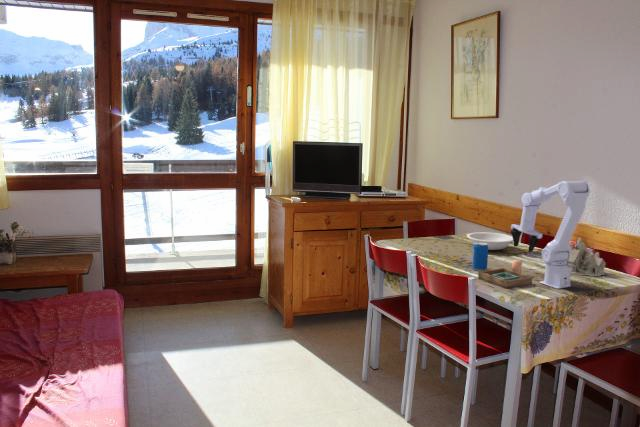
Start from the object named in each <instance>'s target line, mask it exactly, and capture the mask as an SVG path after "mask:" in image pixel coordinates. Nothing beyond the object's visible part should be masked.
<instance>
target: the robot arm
mask: <svg viewBox="0 0 640 427" xmlns="http://www.w3.org/2000/svg"><path fill="white" fill-rule="evenodd" d="M590 193H591V189H590V187H589V184H588V182H587V181H585V180H573V181H572V180H571V181H570V180H568V181H567V180H563V181H559V182H558V183H556V184H555V185H552V186H550V187H545V186H540V187H539V189H536V190H534V189H532V191H531V192H524V193H523V194H522V196H521V204H522V205H523V206H522V212H521V218H520V224H515V223H514V224H511V225H510V229H511V230H510V234H511V236H512V237H513V241H512V242H513V246H514V247H518V246H519V244H520V238H521V235H522V234H523V233H524V234H525V235H526V234H527V235H528V240H529V243H528V244H529V246H528V252H529V253H532V252H533V251H534V250H535V247H536V245H537V244H538V242H539V241H541V239H542V238H543V233H541V232H539V231H538V230H535V229H534V228H535V225H536V218H537V214H538V213H537V212H538V210H539V209H540V208H539V207H540V206H541V205H542V203H544V202H549V201H550V200H551V199H552V198H553V197H554V196H556V195H559V196H560V198H561V199H562V201H563V203H564V205H566V206H567V209H566V212H565V214H564V215H563V216H564V217H563V218H562V221H561V223H560V225H559V228H558V230H557V232H556V235H555V236H554V239H553V240H551V241H550V242H548V243H547V244H546V246H545V247H544V248H542V250H541V258H542V261H543V263H545V267H544V279H543V280H540V281H539V284H542V285H545V286H548V287H551V288H555V289H558V290H559V289H564V288H569V287H572V285H571V279H572V278H571V276H572V274H571V270H570V268H569V267H567V266H566V265H565V264H566V262H567V261H568V260H569V258H570V252H571V250H572V248H571V247H570V245H569V243H570V241H571V239H572V237H573V235H574V233H575V230H576V228H577V226H578V224H579V222H580V219H581V218H582V215H583V213H584V211H585V210H586V209H585V208H586V203H587V199H588V197H589V195H590ZM552 196H553V197H552Z"/></svg>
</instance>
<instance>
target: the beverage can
mask: <svg viewBox="0 0 640 427" xmlns="http://www.w3.org/2000/svg"><path fill="white" fill-rule="evenodd" d="M472 245H473V246H472V262H471V266H472V267H471V268H472V269H473V270H474V271H476V270H477V272H480V271H487V270H488V261H489V260H488V259H489V257H488V256H489V250H488V245H487V243H484V242H475V243H474V244H472Z"/></svg>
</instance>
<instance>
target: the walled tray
mask: <svg viewBox="0 0 640 427" xmlns="http://www.w3.org/2000/svg"><path fill="white" fill-rule="evenodd" d="M477 279H479V280H481V281H483V280H484V281H483V282H486V283H489V284H492V285H495V286H498V287H500V288H503V289H506V290H508V289H512V288H519V287H523V286H525V287H526V286H530V285H532V284H533V276H530V275H527V274H525V273H524V274H523V273H521V274H520V273H517V272H514V271H512V269H507V268H504V267H501V268H496V269H486V270H485V271H478V276H477Z"/></svg>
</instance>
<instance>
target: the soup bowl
mask: <svg viewBox="0 0 640 427" xmlns="http://www.w3.org/2000/svg"><path fill="white" fill-rule="evenodd" d="M466 238H468V239H469V241H470V242H471V243H472V245H474V243H475V242H484V243H487V245H488V251H499V250H503V249H506V248H507V247H508V246H509V245H510V244H511V243H512V242H513V237H512V235H509V234H505V233H500V232H485V231H484V232H483V231H482V232H481V231H479V232H471V233H468V234H467V235H466Z"/></svg>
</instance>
